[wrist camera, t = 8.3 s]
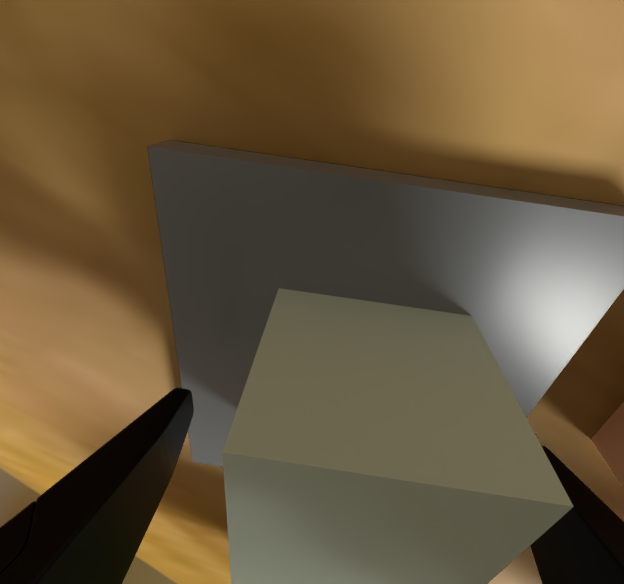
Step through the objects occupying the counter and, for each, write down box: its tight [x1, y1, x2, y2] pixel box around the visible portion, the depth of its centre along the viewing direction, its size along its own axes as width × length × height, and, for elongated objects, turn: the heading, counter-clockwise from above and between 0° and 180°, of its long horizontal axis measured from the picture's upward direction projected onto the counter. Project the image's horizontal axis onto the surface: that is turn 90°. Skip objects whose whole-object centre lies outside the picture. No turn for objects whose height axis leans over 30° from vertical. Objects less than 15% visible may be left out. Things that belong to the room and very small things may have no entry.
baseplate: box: [147, 140, 624, 467], centre depth 10 cm, size 11×12×1 cm
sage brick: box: [222, 288, 574, 584], centre depth 8 cm, size 5×6×4 cm
